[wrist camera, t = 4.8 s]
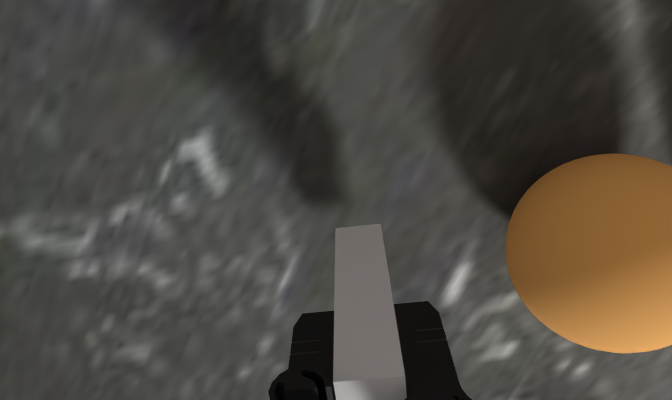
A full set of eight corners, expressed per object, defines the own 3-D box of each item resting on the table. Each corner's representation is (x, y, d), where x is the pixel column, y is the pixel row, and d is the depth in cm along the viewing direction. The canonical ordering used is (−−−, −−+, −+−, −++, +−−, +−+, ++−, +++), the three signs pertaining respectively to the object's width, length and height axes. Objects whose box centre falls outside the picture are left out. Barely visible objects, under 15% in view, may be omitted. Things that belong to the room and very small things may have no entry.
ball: (758, 391, 13) (646, 262, 18) (831, 204, 10) (674, 113, 16) (533, 405, 14) (487, 276, 19) (544, 232, 11) (486, 136, 16)
